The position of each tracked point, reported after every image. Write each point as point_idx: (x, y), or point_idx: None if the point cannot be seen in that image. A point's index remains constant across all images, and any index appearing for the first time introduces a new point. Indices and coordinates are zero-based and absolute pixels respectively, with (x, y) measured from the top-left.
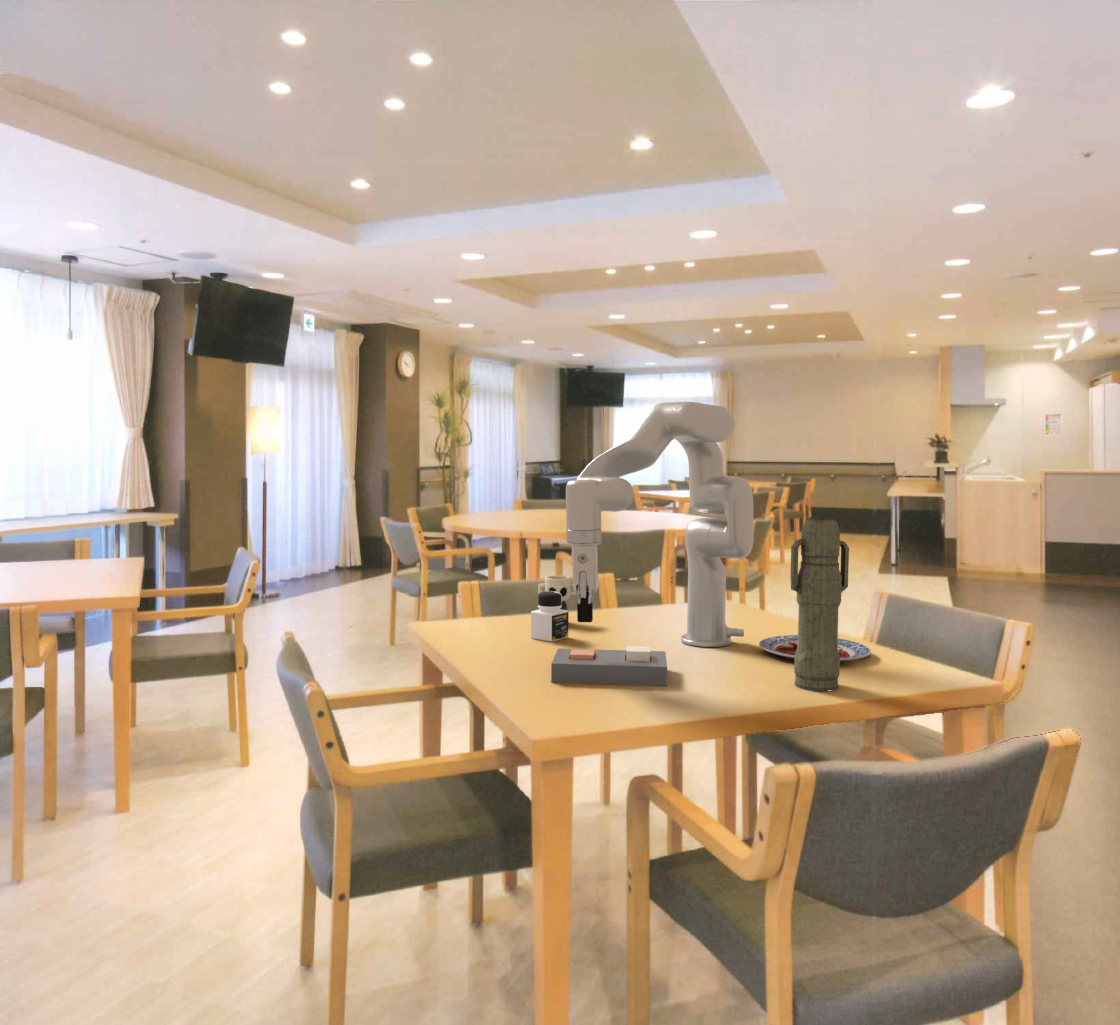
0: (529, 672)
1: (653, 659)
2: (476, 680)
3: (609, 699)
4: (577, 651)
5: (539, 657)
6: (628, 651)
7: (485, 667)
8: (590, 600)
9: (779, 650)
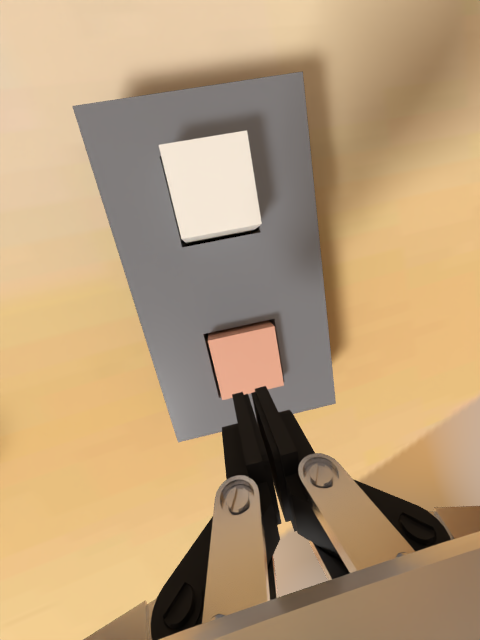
0: None
1: None
2: None
3: (413, 236)
4: (243, 378)
5: (124, 470)
6: (260, 216)
7: None
8: (350, 477)
9: None
